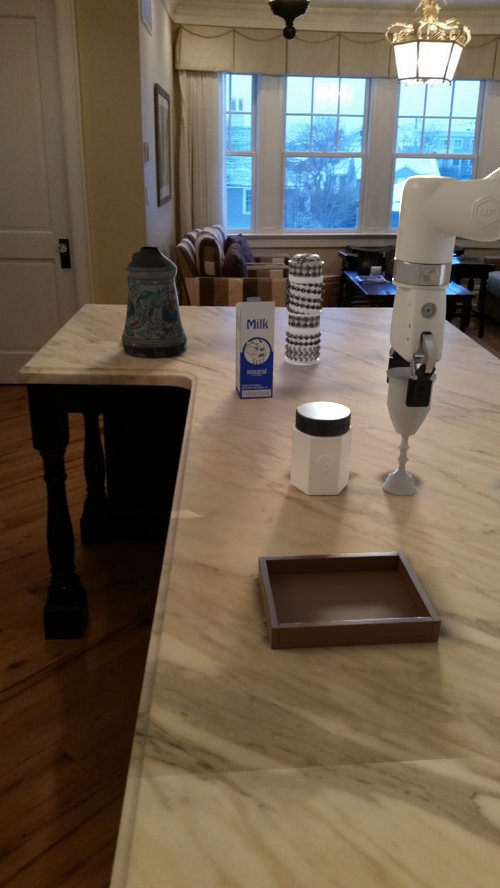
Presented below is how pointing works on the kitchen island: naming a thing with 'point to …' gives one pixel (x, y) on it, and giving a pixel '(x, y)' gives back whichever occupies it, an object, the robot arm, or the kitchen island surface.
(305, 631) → the tray
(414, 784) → the kitchen island surface
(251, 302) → the milk carton
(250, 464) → the kitchen island surface
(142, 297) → the beer stein
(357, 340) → the kitchen island surface
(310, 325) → the decorative candle
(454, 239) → the robot arm
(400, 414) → the chalice
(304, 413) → the jar
